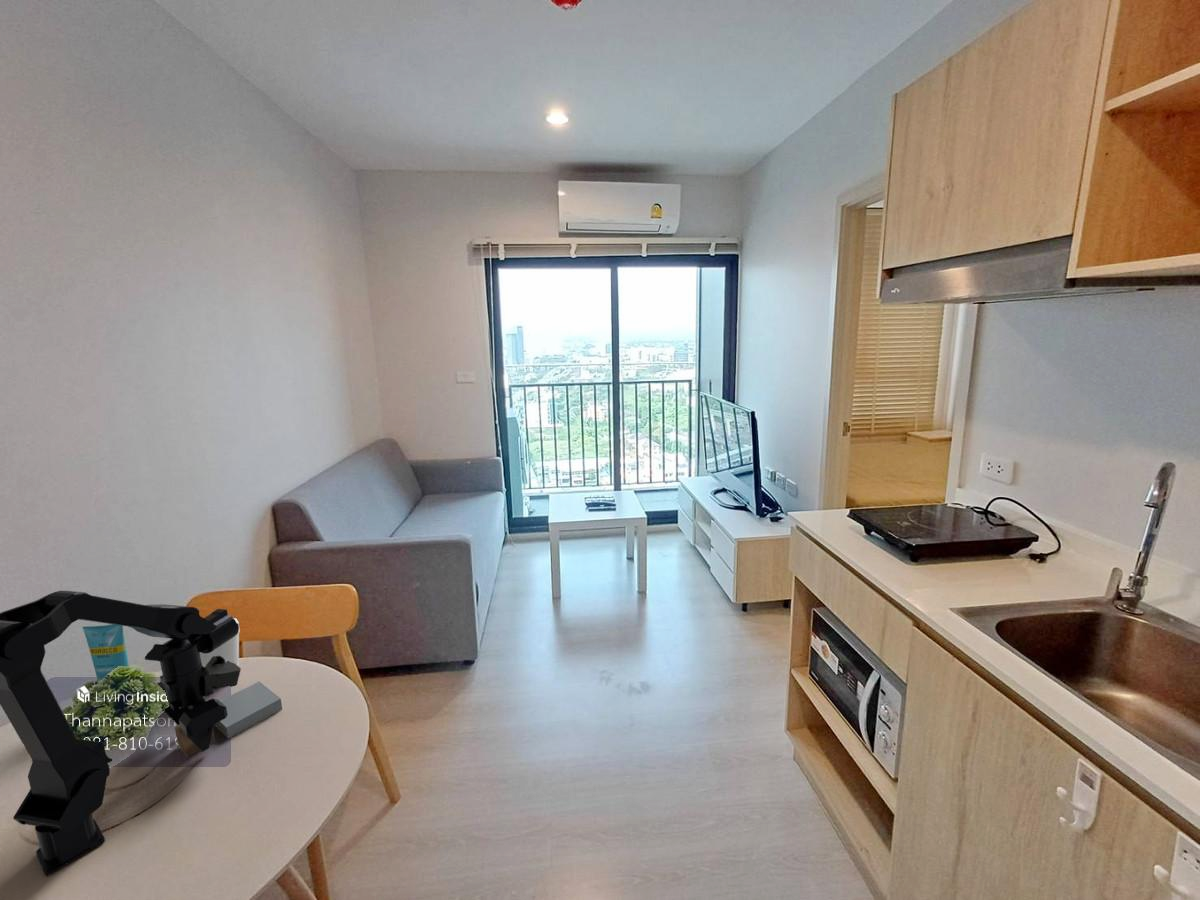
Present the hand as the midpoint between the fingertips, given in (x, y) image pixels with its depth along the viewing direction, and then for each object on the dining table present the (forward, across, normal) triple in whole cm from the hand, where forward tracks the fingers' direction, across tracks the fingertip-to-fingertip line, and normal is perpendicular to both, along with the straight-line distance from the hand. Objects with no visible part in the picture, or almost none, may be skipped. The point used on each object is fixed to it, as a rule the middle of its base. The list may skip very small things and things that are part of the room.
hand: (196, 739), depth 98 cm
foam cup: (+1, +19, -11) cm, 22 cm away
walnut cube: (+1, 0, 0) cm, 1 cm away
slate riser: (+1, +2, -9) cm, 9 cm away
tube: (+1, +27, +5) cm, 27 cm away
